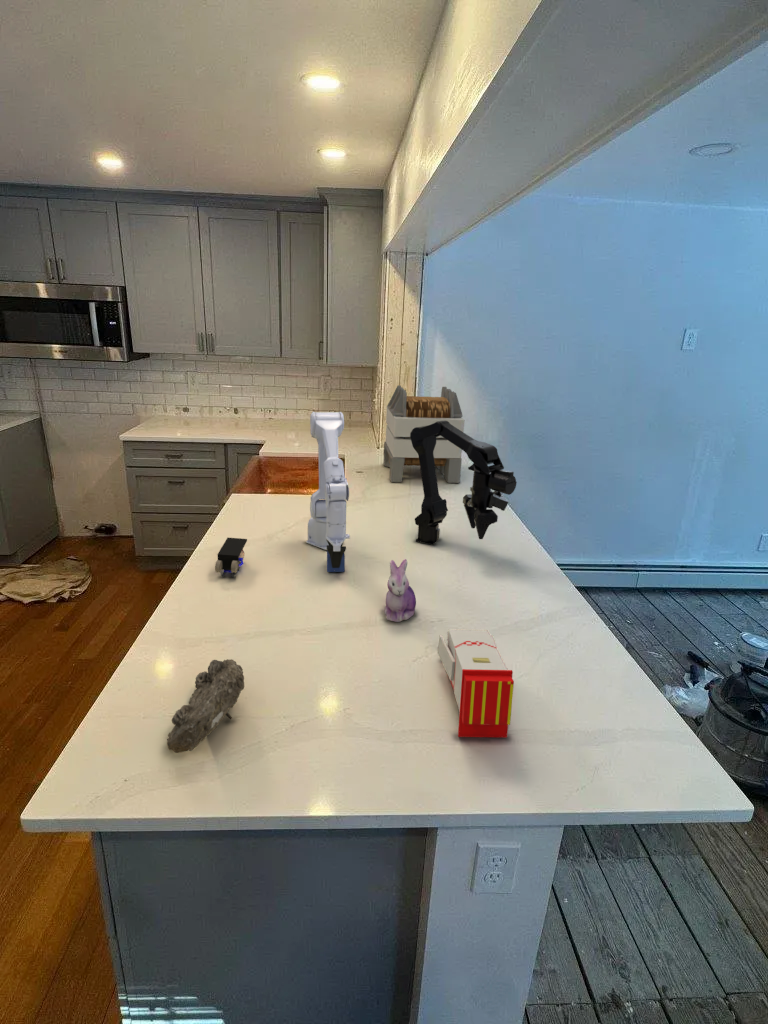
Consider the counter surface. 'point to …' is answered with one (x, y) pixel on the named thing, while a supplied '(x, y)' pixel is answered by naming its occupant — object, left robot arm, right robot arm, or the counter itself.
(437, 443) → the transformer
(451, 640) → the toy
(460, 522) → the counter surface
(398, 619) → the figurine
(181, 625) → the counter surface
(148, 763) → the counter surface
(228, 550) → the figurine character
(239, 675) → the fossil
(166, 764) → the counter surface
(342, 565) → the blue cube
